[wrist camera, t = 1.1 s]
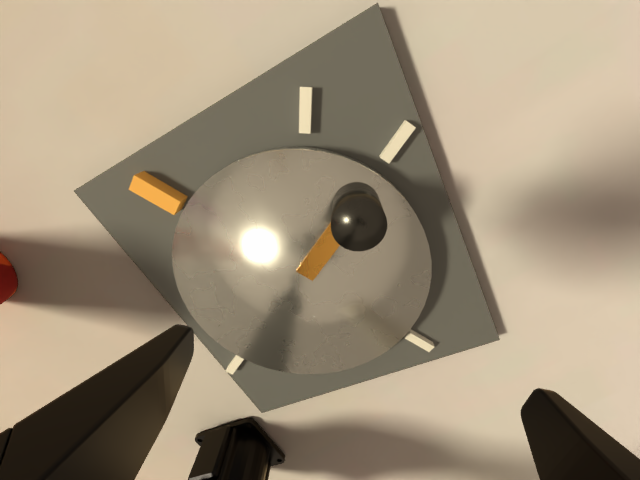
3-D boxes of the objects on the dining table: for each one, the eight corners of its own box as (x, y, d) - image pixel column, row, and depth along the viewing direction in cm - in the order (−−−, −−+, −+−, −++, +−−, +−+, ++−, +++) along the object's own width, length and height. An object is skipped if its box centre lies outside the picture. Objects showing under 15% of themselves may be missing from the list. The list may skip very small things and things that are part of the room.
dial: (335, 392, 25) (334, 443, 21) (145, 297, 22) (107, 338, 18) (483, 244, 19) (517, 280, 15) (248, 83, 16) (221, 81, 12)
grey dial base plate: (494, 332, 23) (506, 350, 21) (263, 404, 28) (259, 424, 26) (375, 7, 15) (380, -4, 13) (82, 187, 20) (60, 195, 18)
